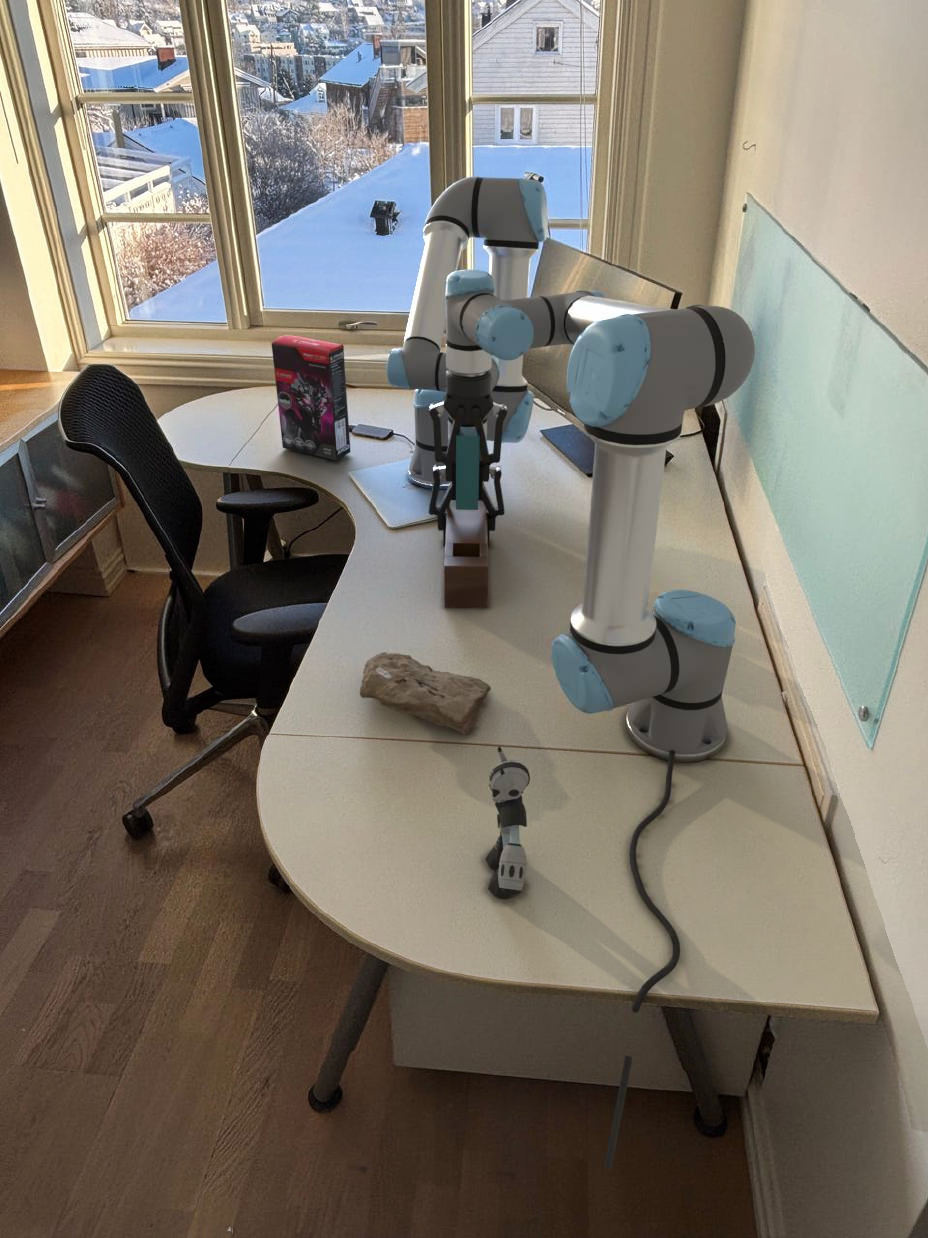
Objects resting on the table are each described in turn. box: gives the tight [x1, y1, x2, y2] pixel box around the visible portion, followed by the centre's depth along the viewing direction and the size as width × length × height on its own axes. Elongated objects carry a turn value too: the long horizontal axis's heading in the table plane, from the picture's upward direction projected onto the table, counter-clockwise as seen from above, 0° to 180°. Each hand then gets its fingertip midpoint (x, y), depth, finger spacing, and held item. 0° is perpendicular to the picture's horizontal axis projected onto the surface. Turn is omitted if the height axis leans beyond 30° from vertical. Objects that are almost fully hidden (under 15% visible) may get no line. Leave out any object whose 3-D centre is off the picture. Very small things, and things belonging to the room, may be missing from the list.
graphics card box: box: [271, 334, 351, 461], centre depth 223 cm, size 17×7×27 cm, turn 62°
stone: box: [359, 651, 492, 735], centre depth 146 cm, size 21×15×6 cm
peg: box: [456, 427, 480, 510], centre depth 163 cm, size 4×4×14 cm
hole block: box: [443, 500, 489, 609], centre depth 181 cm, size 28×8×9 cm, turn 0°
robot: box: [485, 746, 531, 899], centre depth 114 cm, size 20×5×20 cm, turn 3°
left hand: (466, 543), depth 191 cm, fingers closed on hole block, 8 cm apart
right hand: (467, 496), depth 166 cm, fingers closed on peg, 4 cm apart
